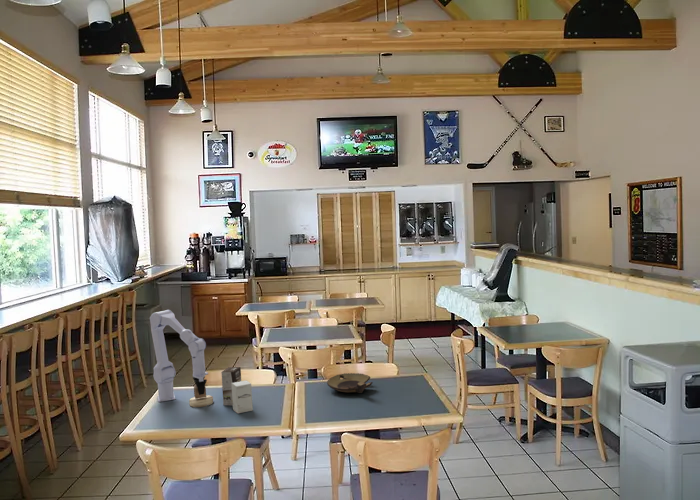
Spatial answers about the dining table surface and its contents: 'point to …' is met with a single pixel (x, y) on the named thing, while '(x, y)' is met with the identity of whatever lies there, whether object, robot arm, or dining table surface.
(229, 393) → the coffee box
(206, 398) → the birch board
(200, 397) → the walnut block
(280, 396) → the dining table surface
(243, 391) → the supplement box
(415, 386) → the dining table surface
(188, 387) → the dining table surface
